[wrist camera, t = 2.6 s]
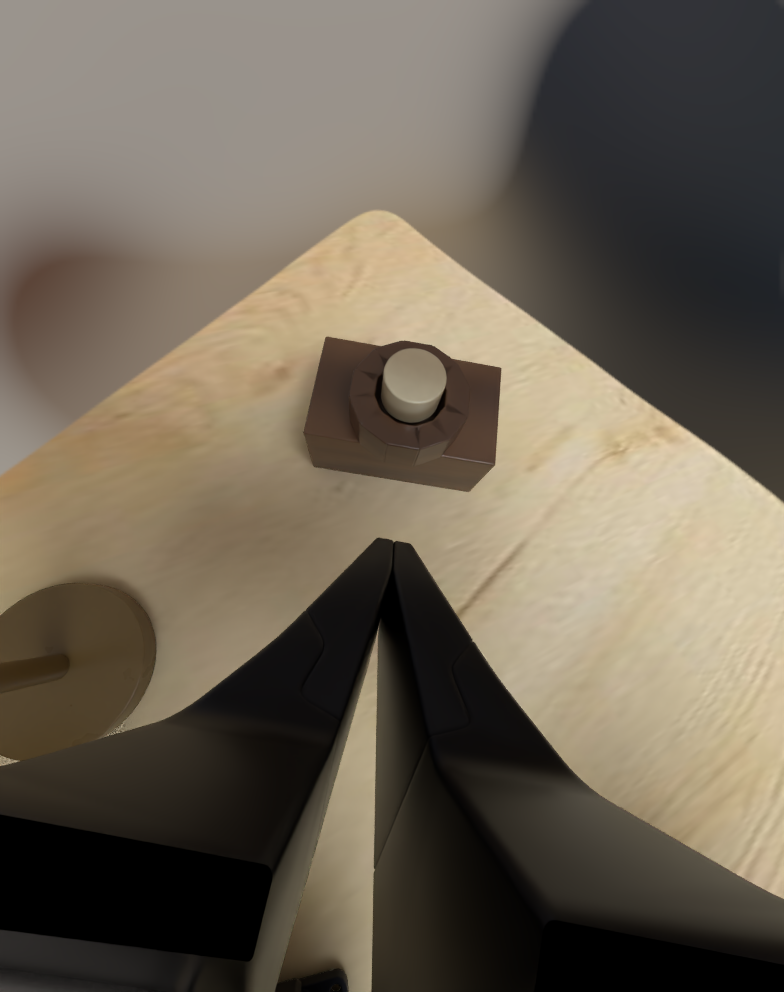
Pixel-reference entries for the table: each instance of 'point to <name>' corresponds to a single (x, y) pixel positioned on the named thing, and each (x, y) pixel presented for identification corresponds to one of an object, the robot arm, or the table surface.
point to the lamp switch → (412, 384)
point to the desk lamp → (70, 667)
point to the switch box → (393, 443)
